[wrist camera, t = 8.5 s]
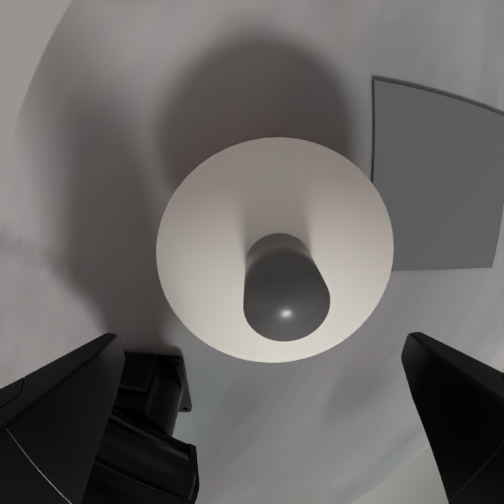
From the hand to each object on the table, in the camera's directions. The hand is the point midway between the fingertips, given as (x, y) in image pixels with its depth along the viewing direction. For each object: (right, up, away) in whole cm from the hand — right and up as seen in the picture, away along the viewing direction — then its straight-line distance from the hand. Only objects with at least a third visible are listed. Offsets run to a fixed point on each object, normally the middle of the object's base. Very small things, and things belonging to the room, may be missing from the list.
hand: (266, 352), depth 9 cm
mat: (+14, +8, +10) cm, 19 cm away
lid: (+1, +3, +7) cm, 7 cm away
